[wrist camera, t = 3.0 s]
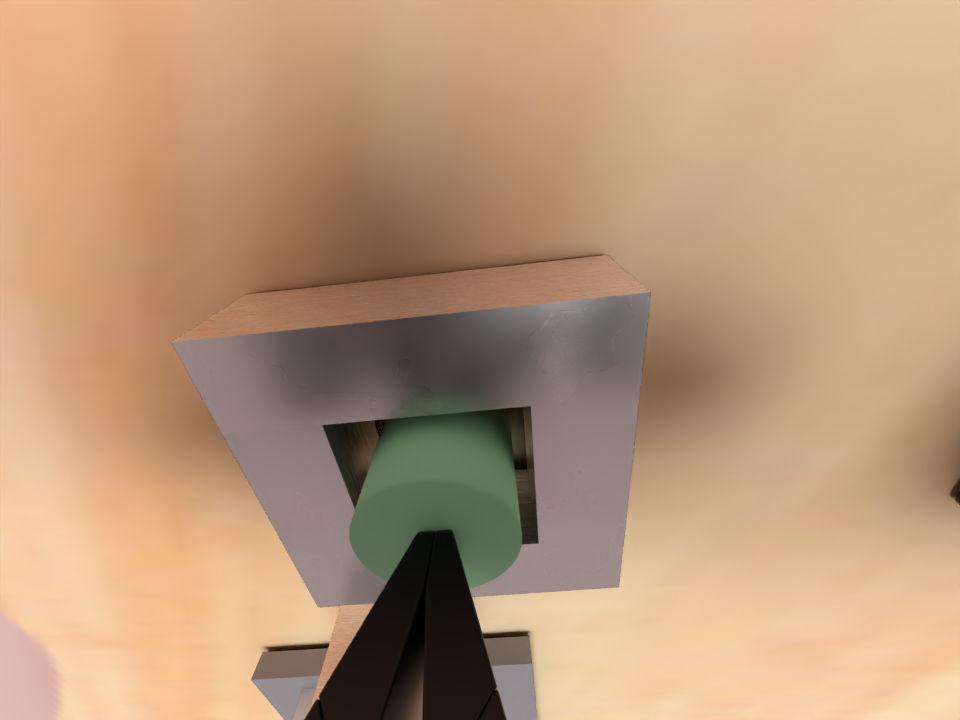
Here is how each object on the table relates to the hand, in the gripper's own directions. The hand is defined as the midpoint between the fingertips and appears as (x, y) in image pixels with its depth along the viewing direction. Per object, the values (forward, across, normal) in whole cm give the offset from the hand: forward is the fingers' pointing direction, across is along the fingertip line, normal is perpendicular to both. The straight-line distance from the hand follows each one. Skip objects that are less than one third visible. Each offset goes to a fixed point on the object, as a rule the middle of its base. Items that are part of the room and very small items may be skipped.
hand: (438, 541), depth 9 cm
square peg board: (+4, 0, 0) cm, 5 cm away
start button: (+4, 0, 0) cm, 4 cm away
